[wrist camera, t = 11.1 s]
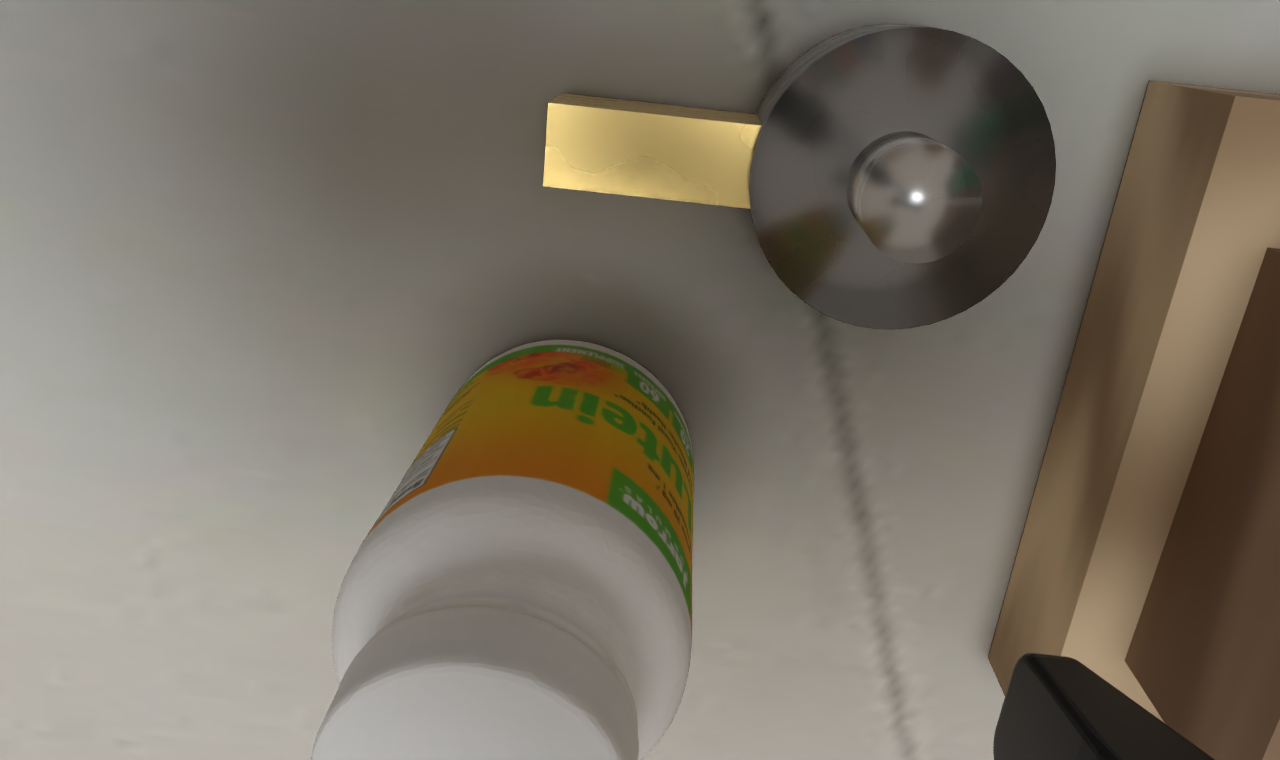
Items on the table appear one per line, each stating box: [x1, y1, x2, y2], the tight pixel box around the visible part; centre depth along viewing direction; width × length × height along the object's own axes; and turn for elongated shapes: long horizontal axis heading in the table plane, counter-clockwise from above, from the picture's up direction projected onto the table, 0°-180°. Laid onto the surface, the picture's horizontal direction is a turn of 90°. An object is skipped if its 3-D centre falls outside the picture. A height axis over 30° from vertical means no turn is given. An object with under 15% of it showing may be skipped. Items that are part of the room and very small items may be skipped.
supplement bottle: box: [311, 340, 694, 760], centre depth 16 cm, size 5×5×10 cm
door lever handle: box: [543, 24, 1056, 329], centre depth 17 cm, size 5×8×4 cm, turn 84°
